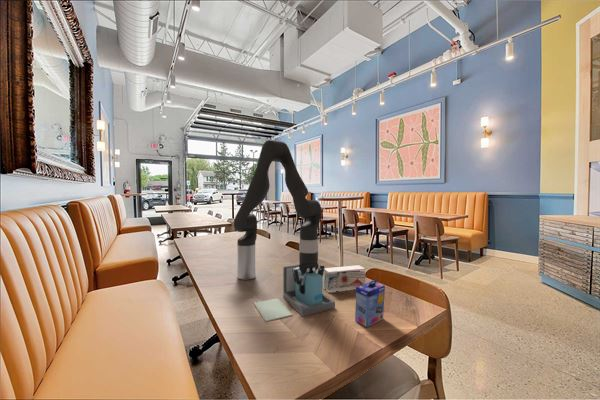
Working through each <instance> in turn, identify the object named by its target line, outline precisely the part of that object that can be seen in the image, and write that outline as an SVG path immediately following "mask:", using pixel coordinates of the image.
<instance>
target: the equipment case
mask: <svg viewBox="0 0 600 400" xmlns="http://www.w3.org/2000/svg"><path fill="white" fill-rule="evenodd" d="M298 267H299V264H294V265H287V266H285V265H284V266H283V267H282V268H283V271H282V273H283V277H282V278H283V280H282V281H283V284H282V286H283V288H282V289H283V293H282V294H283V295H282V297H283V299H284V300H285V301H287V302H288V303H289V305H291V307H292V308H294V310H296V312H297V313H298V314H300V315H301V317H304V316H308V315H309V316H310V315H313V314H317V313H321V312H325V311H330V310H334V309H336V302H335V301H334V299H332V298H330V297H329V296H327V295H326V294H324V293H323V292H322V304H318V305H313V306H308V305H306V304H304V303H303V302H301V301H299V300H298V299H297V298H296V295H295V292H296V283H295V281H294V277H293V272H292V269H293V268H298Z"/></svg>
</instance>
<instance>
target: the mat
mask: <svg viewBox="0 0 600 400" xmlns="http://www.w3.org/2000/svg"><path fill="white" fill-rule="evenodd" d="M253 305H254V306H255V308H256V310H257V311H258V313H259V315H261V317H262V318H263V320H264V321H265V322H267V323H268V322H270V321H275V320H279V319H284V318H288V317H292V316H293V314H292V312H291V311H290V310H289V309H288V307H286V305H284V303H282V302H281V300H280V299H279V298H272V299H267V300H263V301H262V300H261V301H256V302H254V303H253Z"/></svg>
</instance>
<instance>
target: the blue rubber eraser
mask: <svg viewBox="0 0 600 400" xmlns="http://www.w3.org/2000/svg"><path fill="white" fill-rule="evenodd" d="M317 273H318V272H316V273H309V274H307V275H306V280H305V282H304V294H301V293H300V292H299V284H297V283H296V292H295V295H296V298H297V299H298V300H299V301H301V302H303V303H304V304H306V305H308V306H313V305H318V304H322V293H323V290H324V289H323V278H322V276H321V275H320V274H317ZM300 274H301V271H300V270H299V273H298V276H299V279H300ZM302 276H304V275H303V274H302Z"/></svg>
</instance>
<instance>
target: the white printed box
mask: <svg viewBox="0 0 600 400" xmlns="http://www.w3.org/2000/svg"><path fill="white" fill-rule="evenodd" d="M364 270H366V268H365V267H363V266H361V265H359V264H358V265H357V264H355V265H348V266H336V267H335V266H334V267H325V268H324V273H323V278H322V279H323V288H325V289H326V290H327V291H328V292H330V293H337V292H336V291H339V292H345V291H346V290H347V291H353V290H354V289H355V290H356V287H357V286H360V285H362V284H366V271H364ZM325 289H324V290H325ZM326 290H325V291H326ZM355 290H354V291H355ZM327 291H326V292H327ZM328 292H327V293H328Z"/></svg>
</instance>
